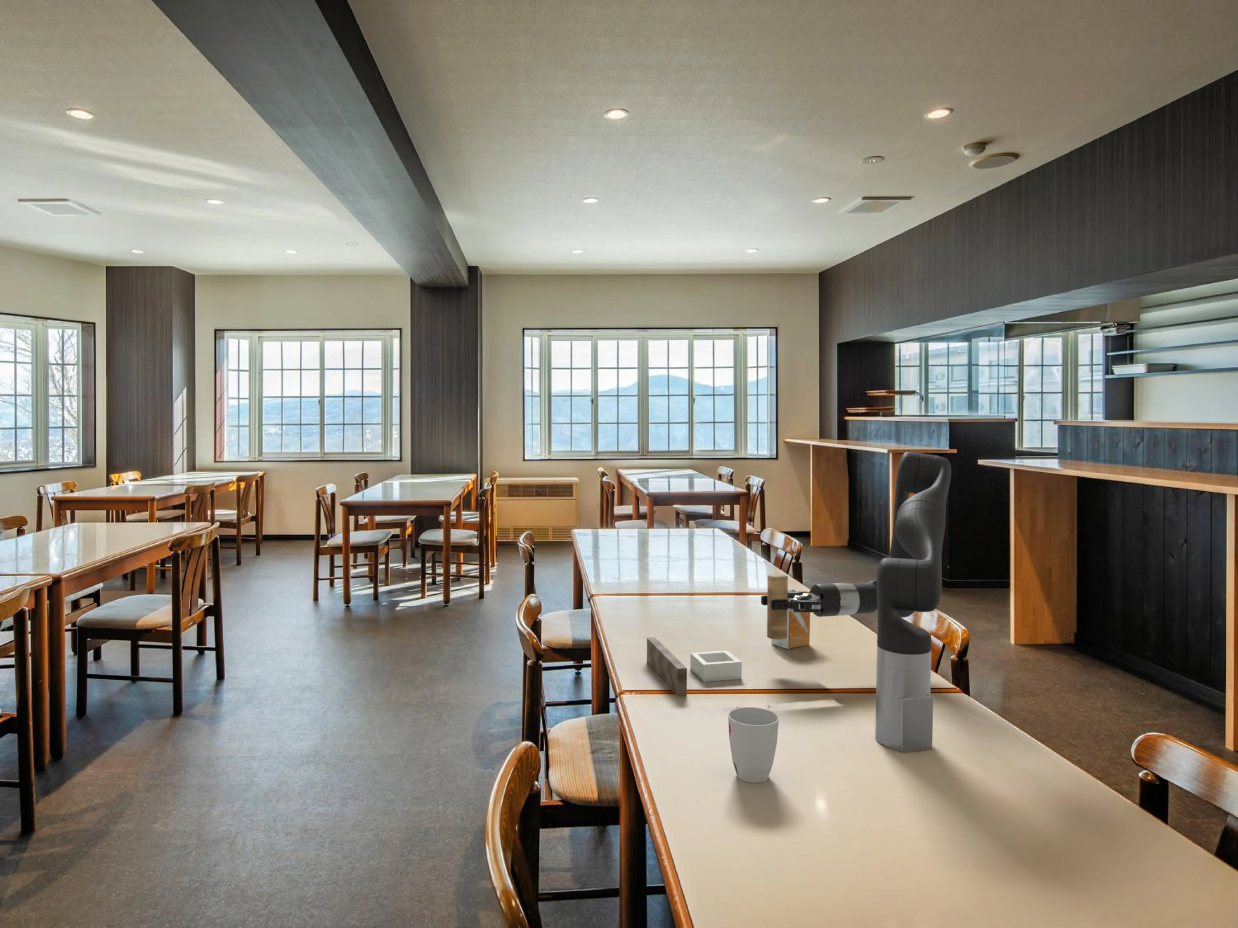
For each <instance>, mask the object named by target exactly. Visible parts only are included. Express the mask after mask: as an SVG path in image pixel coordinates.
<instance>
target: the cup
mask: <svg viewBox="0 0 1238 928" xmlns="http://www.w3.org/2000/svg"><path fill="white" fill-rule="evenodd" d="M727 716H728V717H727V718H728V740H729V746H730V753H731V759H732V764H733V767H734V770H735V773H736V777H737V778H738V779H739V780H740V781H742V782H745V783H748V784H761V783H764V782H766V781H768V780H769V777H770V774H771V771H772V768H773V765H774V760H775V756H776V755H775V754H776V750H777V745H778V744H777V743H778V732H779V722H780V721H779V720H780V717H779V715H778V714H777V713H775V712H774V711H773V710H769V709H767V708H763V707H756V706H755V707H754V706H744V707H743V706H741V707H736V708H733V709H731V710H729V712H728V714H727Z"/></svg>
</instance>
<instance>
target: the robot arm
mask: <svg viewBox="0 0 1238 928" xmlns="http://www.w3.org/2000/svg"><path fill="white" fill-rule="evenodd" d="M898 463H899V464H898V467H897V470H896V471H897V472H896V479H895V487H894V488H895V489H894V502H893V503H894V504H893V520H892V522H893V523H892V536H891V541H890V542H891V543H890V546H889V547H890V549H889V552H888V557H884V558H882V559H881V560H880V561H879V564H878V566H877V569H876V579H874V580H871V581H868V582H864V583H863V582H861V583H860V582H858V583H847V582H846V583H845V582H837V583H835V582H833V583H832V582H831V583H816V584H813V585H812V586H811V588H810V590H809V592H807V591H806V590H798V591H796V589H795V590H794V589H790V590H788V599H787V600H786V599H778V600H771V601H770V609H772V610H786V609H787V610H789V611H791V610H793V612H810V613H813V614H814V616H816V617H819V618H820V617H821V618H823V617H824V618H825V617H837V616H838V617H839V616H848V615H849V616H850V615H854V614H855V615H857V614H858V615H860V614H871V613H874V612H876V611H877V631H876V632H877V635H876V637H877V639H876V671H875V672H876V673H875V675H876V678H875V679H876V680H875V681H876V684H875V732H874V733H875V734H874V735H875V736H874V738H875V740H876V741H877V742H879V744H881V745H884V746H886V747H888V748H891V749H893V750H894V749H895V750H898V751H900V752H901V753H905V752H906V753H907V752H916V751H917V752H918V751H925V750H932V749H933V724H934V697H933V695H931V687H932V686H931V679H932V678H931V677H932V674H931V673H932V643H933V642H932V640H933V639H932V636H931V634H930V633H929V631H927V630H925V629H923V628H921V627H919V626H917V625H914V624H912V623H910V622H909V621H907V620H906V619H904V618H908V617H910V616H912V615H913V614H914V613H915V612H917V613H918V612H919V613H929V612H933V611H935V610H936V609H937V608H938V607H939V604H940V602H941V598H942V591H943V589H942V587H943V576H942V575H943V574H942V573H943V571H942V569H943V568H942V567H943V566H942V564H943V563H942V553H943V545H944V539H945V531H946V521H947V520H946V519H947V518H946V516H947V514H946V512H947V508H946V507H947V499H948V493H949V489H950V483H951V478H952V466H951V462H950V460H949V459H948V458H946V457H943V456H940V455H935V454H934V455H933V454H929V453H928V454H927V453H922V452H915V451H906V452H904V453H903V454H902V455H901V457H900V460H899V462H898ZM910 494H913V495H912V496H909V495H910ZM767 596H768V594H766V595H765V594H763V595H761V596H760V604H761V605H762V606H767Z"/></svg>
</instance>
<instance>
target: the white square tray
mask: <svg viewBox="0 0 1238 928" xmlns="http://www.w3.org/2000/svg"><path fill="white" fill-rule="evenodd" d="M689 657H690V664H689V665H690V666H689V667H690V671H692V672H693V674H694V675H696V676H697V677H698V678H699V679H700V680H701V681H702V682H703V683H704V682H706V683H707V682H717V681H719V682H721V681H730V680H731V681H732V680H742V675H743V673H742V670H743V668H742V667H743V664H742V662H743V661H741V660H740V659H739V658H737V657H736V656H735V655H733V654H732V653H731V652H730V651H729V650H717V651H716V650H715V651H703V652H702V651H700V652H690V656H689Z"/></svg>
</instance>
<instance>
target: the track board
mask: <svg viewBox="0 0 1238 928" xmlns="http://www.w3.org/2000/svg"><path fill="white" fill-rule="evenodd" d="M646 663H647V664H648V665H649V666H650V668H651V669H652V670H653V671H654V672H655V673H656V674H657V676H659V678H660V679H661V680H662V682H664V684H665V685H666V686H667V687H668V688H669V689H670V690H671V691H672V692H673V693H674V694H675V696H676V697H679V698H680V697H688V691H687V690H688V686H687V685H688V668H687V667H686V666H685V665H684V664H683V662H681V661H680V660H679V659H678V658H677V657H676V656H675V655H674V654H673V653H672V652H671V651H670V650H669V649H668V648H667V647H666V646H665V645H664V644H663V643H662V642H660V640H659V639H658V638H657V637H655V636H654V637H647V638H646Z"/></svg>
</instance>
